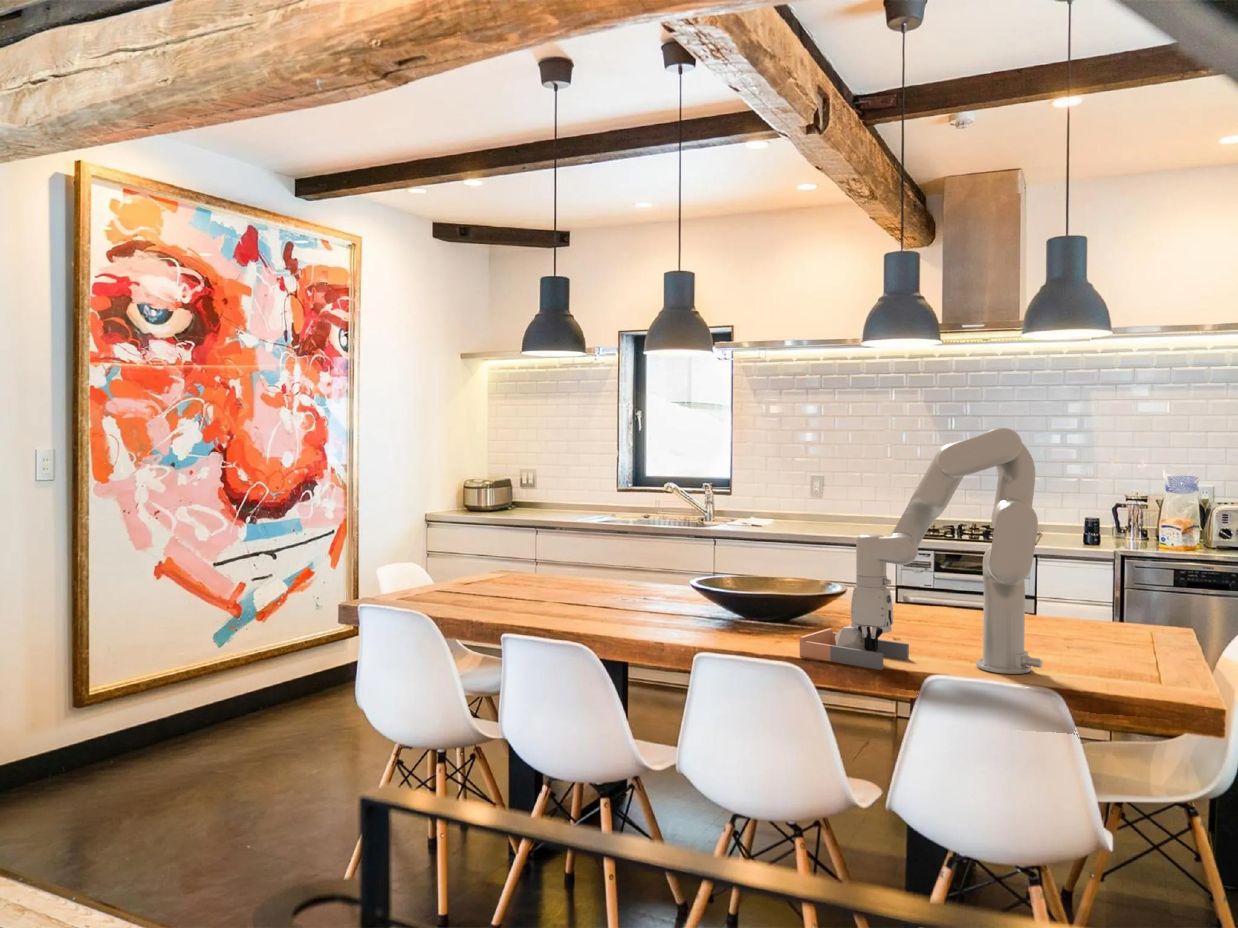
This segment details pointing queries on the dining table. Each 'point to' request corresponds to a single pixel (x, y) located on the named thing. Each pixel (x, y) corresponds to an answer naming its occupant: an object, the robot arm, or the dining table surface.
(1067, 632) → the dining table surface
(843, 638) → the die
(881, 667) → the two-tone shallow tray
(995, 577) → the robot arm
